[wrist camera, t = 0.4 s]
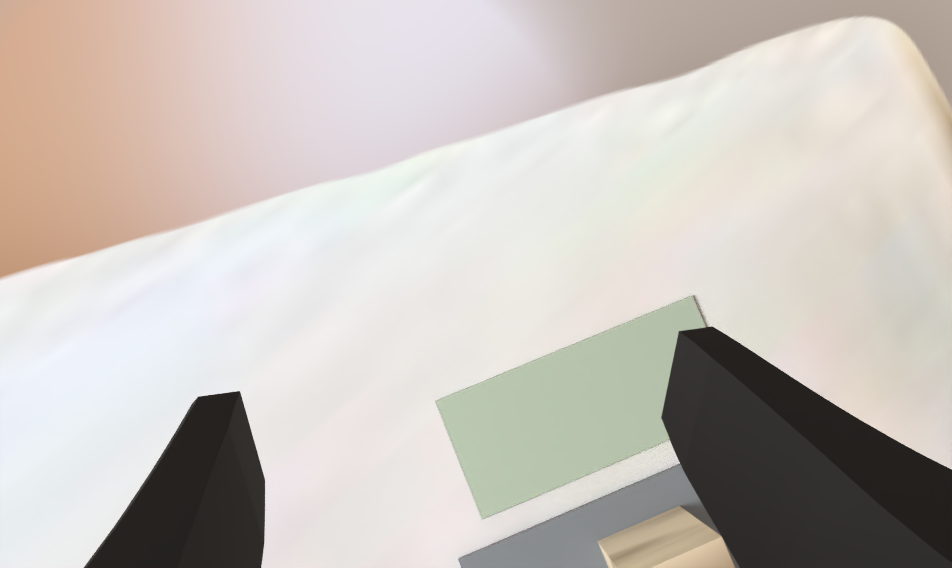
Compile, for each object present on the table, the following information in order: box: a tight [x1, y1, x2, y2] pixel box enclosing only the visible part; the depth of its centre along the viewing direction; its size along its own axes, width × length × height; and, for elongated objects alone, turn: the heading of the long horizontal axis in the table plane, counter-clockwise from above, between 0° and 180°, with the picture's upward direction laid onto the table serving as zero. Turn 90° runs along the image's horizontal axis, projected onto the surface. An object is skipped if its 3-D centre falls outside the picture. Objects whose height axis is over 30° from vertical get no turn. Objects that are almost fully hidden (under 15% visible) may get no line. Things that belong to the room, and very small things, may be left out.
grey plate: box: [459, 464, 740, 568], centre depth 37 cm, size 9×20×1 cm, turn 112°
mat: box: [435, 296, 706, 519], centre depth 38 cm, size 7×16×1 cm, turn 112°
